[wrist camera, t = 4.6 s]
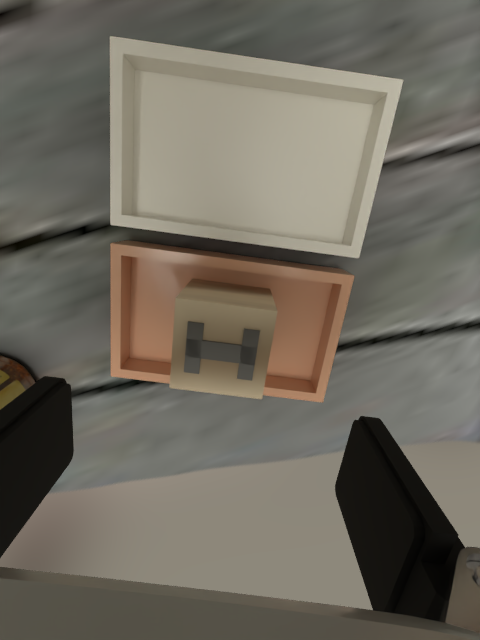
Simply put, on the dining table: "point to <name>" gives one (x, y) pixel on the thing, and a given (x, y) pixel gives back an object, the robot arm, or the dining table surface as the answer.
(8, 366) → the sauce bottle
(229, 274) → the tray
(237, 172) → the tray
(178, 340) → the letter cube
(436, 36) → the dining table surface
